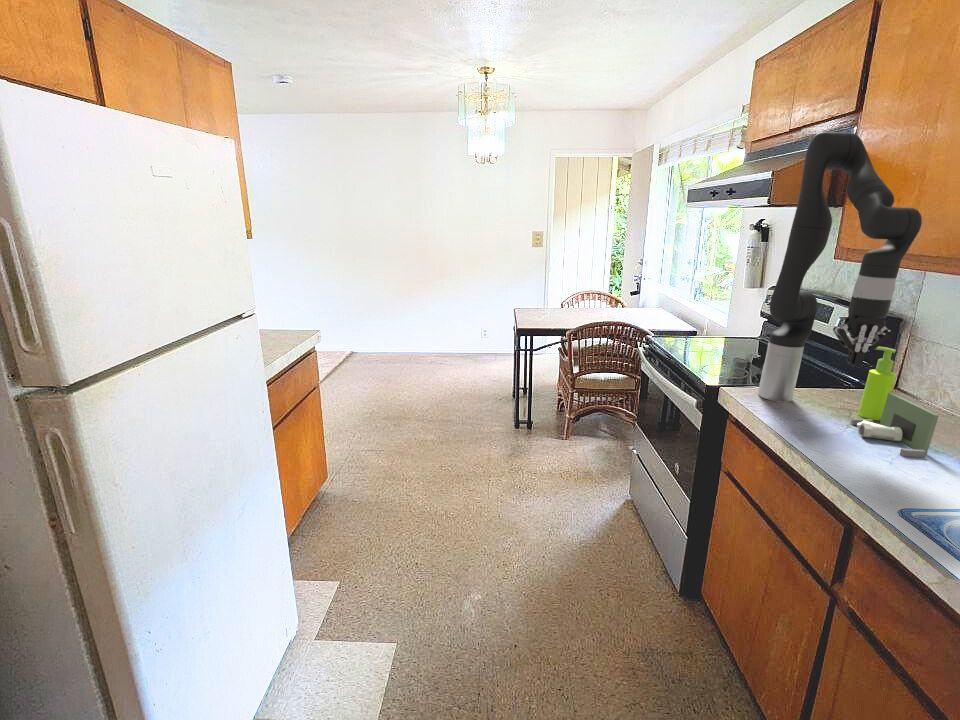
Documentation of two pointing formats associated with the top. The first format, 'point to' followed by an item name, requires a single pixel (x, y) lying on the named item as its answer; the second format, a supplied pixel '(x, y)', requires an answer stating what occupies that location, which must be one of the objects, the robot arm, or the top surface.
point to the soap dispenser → (878, 386)
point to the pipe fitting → (879, 431)
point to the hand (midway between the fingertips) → (853, 365)
